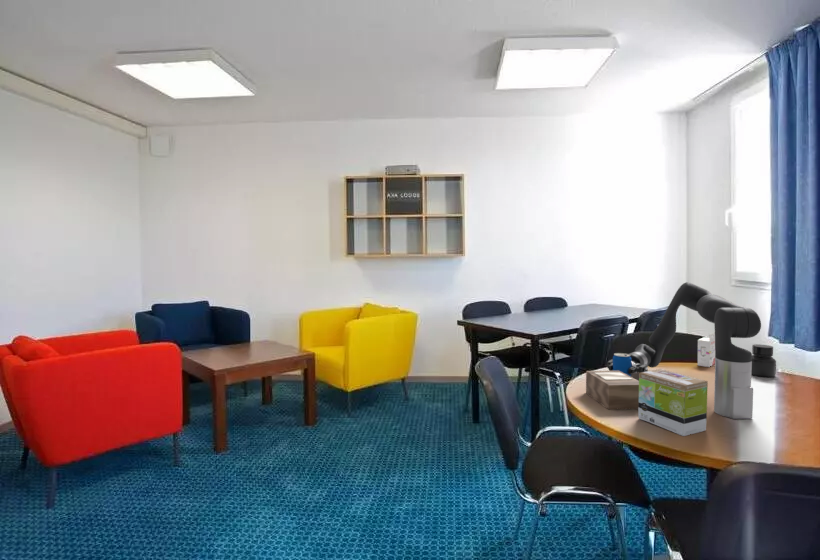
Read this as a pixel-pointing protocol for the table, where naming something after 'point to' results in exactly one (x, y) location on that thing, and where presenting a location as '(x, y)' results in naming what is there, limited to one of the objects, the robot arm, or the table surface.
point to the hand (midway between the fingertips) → (619, 370)
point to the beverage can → (622, 363)
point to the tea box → (673, 401)
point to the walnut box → (613, 389)
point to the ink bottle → (763, 361)
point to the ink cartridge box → (706, 351)
